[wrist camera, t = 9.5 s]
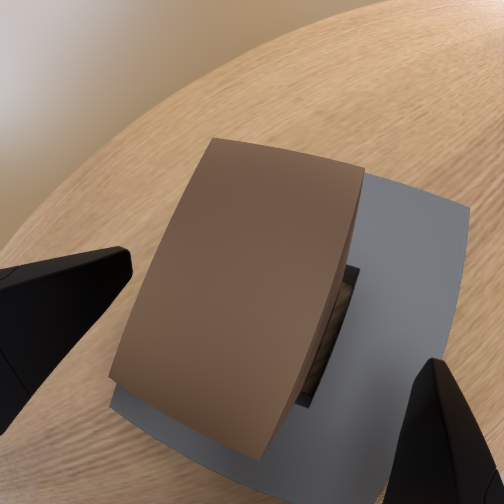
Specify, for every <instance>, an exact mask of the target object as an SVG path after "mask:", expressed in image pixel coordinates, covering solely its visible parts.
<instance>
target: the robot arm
mask: <svg viewBox="0 0 504 504" xmlns="http://www.w3.org/2000/svg"><path fill="white" fill-rule="evenodd" d="M132 275H133V269H132V262H131V254H130V252H129V250H127V249H125V248H123V247H120V246H116V247H110V248H105V249H100V250H94V251H89V252H84V253H79V254H73V255H68V256H63V257H58V258H53V259H48V260H43V261H38V262H34V263H29V264H24V265H20V266H14V267H10V268H5V269H0V436H1V435H2V434H3V433H4V432H5V431H6V430H7V428H8V427H9V426H10V424H11V423H12V422H13V420H14V419H15V418H16V416H17V415H18V414H19V412H20V411H21V410H22V409H23V407H24V406H25V405H26V403H27V402H28V401H29V400H30V398H31V397H32V396H33V394H34V393H35V392H36V391H37V389H38V388H39V387H40V386H41V385H42V383H43V382H44V381H45V380H46V378H47V377H48V376H49V375H50V374H51V372H52V371H53V370H54V369H55V368H56V367H57V365H58V364H59V363H60V362H61V361H62V360H63V358H64V357H65V356H66V355H67V354H68V353H69V351H70V350H71V349H72V348H73V347H74V346H75V345H76V343H77V342H78V341H79V340H80V339H81V338H82V337H83V336H84V334H85V333H86V332H87V331H88V330H89V329H90V328H91V327H92V326H93V325H94V323H95V322H96V321H97V320H98V319H99V318H100V317H101V316H102V315H103V314H104V312H105V311H106V310H107V309H108V307H109V306H110V305H111V304H112V302H113V301H114V300H115V298H116V297H117V296H118V295H119V293H120V292H121V291H122V289H123V288H124V287H125V286H126V284H127V283H128V282H129V281H130V279H131V277H132ZM382 504H504V485H503V483H502V480H501V477H500V474H499V472H498V470H497V469H496V465H495V462H494V460H493V457H492V455H491V452H490V450H489V448H488V445H487V443H486V441H485V439H484V436H483V434H482V432H481V430H480V428H479V426H478V423H477V421H476V419H475V417H474V415H473V413H472V411H471V409H470V407H469V405H468V403H467V401H466V399H465V397H464V395H463V393H462V392H461V390H460V388H459V386H458V384H457V382H456V380H455V379H454V377H453V375H452V373H451V371H450V370H449V368H448V366H447V364H446V363H445V361H443V360H440V359H437V358H433V357H432V358H429V359H428V360H427V362H426V363H425V365H424V366H423V367H422V369H421V370H420V372H419V373H418V375H417V376H416V378H415V379H414V382H413V384H412V388H411V393H410V397H409V401H408V405H407V409H406V412H405V416H404V420H403V423H402V427H401V430H400V434H399V438H398V443H397V447H396V452H395V457H394V461H393V466H392V470H391V474H390V478H389V482H388V486H387V490H386V493H385V497H384V500H383V503H382Z"/></svg>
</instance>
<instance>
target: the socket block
mask: <svg viewBox="0 0 504 504" xmlns="http://www.w3.org/2000/svg"><path fill="white" fill-rule="evenodd" d="M469 215H470V208H469V207H467V206H464V205H462V204H459V203H456V202H454V201H451V200H448V199H446V198H443V197H440V196H437V195H434V194H432V193H429V192H426V191H423V190H420V189H417V188H414V187H411V186H408V185H404V184H401V183H398V182H395V181H391V180H388V179H385V178H381V177H378V176H375V175H371V174H367V173H364V178H363V184H362V190H361V195H360V201H359V206H358V211H357V216H356V221H355V226H354V231H353V236H352V240H351V245H350V250H349V254H348V258H347V263H346V267H345V271H344V275H343V279H342V281H343V282H346V283H349V284H352V285H353V288H352V291H351V295H350V298H349V301H348V304H347V307H346V310H345V312H344V315H343V318H342V321H341V324H340V327H339V329H338V332H337V335H336V338H335V340H334V343H333V346H332V348H331V351H330V354H329V356H328V359H327V361H326V364H325V366H324V369H323V371H322V374H321V376H320V379H319V381H318V383H317V386H316V388H315V390H314V393H313V395H312V396H311V395H308V394H305V393H302V392H300V393H299V395H298V397H297V399H296V401H295V402H294V404H293V406H292V408H291V409H290V411H289V413H288V415H287V416H286V418H285V420H284V422H283V423H282V425H281V427H280V428H279V430H278V432H277V433H276V435H275V437H274V438H273V440H272V441H271V443H270V445H269V446H268V448H267V449H266V451H265V453H264V454H263V456H262V457H261V459H260V460H256V459H254V458H252V457H249V456H247V455H245V454H242V453H240V452H238V451H235V450H233V449H231V448H229V447H227V446H225V445H222V444H220V443H218V442H216V441H214V440H212V439H210V438H208V437H206V436H204V435H202V434H200V433H198V432H196V431H195V430H193V429H191V428H189V427H187V426H185V425H183V424H182V423H180V422H178V421H176V420H175V419H173V418H171V417H169V416H168V415H166V414H164V413H163V412H161V411H159V410H158V409H156V408H154V407H153V406H151V405H149V404H148V403H146V402H145V401H143V400H142V399H140V398H139V397H137V396H135V395H134V394H132V393H131V392H129V391H128V390H127V389H125V388H124V387H122V386H121V385H119V384H118V383H117V385H116V388H115V391H114V394H113V397H112V400H111V403H110V406H109V407H110V408H112V409H113V410H114V411H116V412H117V413H118V414H120V415H121V416H123V417H124V418H125V419H127V420H128V421H130V422H131V423H132V424H134V425H135V426H137V427H138V428H140V429H141V430H143V431H144V432H146V433H147V434H149V435H150V436H152V437H154V438H155V439H157V440H158V441H160V442H162V443H163V444H165V445H166V446H168V447H170V448H172V449H173V450H175V451H177V452H178V453H180V454H182V455H184V456H185V457H187V458H189V459H191V460H193V461H195V462H197V463H198V464H200V465H202V466H204V467H206V468H208V469H210V470H212V471H214V472H216V473H218V474H220V475H222V476H225V477H227V478H229V479H231V480H233V481H236V482H238V483H240V484H242V485H245V486H247V487H250V488H252V489H254V490H257V491H260V492H262V493H265V494H267V495H270V496H273V497H275V498H278V499H281V500H284V501H287V502H290V503H293V504H374V502H375V501H376V499H377V498H378V496H379V494H380V493H381V491H382V490H383V488H384V486H385V485H386V483H387V481H388V480H389V478H390V474H391V470H392V466H393V461H394V457H395V452H396V447H397V443H398V438H399V434H400V430H401V427H402V423H403V420H404V416H405V412H406V409H407V405H408V401H409V397H410V393H411V388H412V384H413V382H414V379H415V378H416V376H417V375H418V373H419V372H420V370H421V369H422V367H423V366H424V365H425V363H426V362H427V360H428V359H429V358H432V357H433V358H437V359H440V360H442V357H443V353H444V350H445V347H446V343H447V340H448V336H449V333H450V329H451V325H452V321H453V317H454V313H455V308H456V304H457V299H458V294H459V289H460V284H461V279H462V273H463V267H464V260H465V253H466V246H467V237H468V227H469Z"/></svg>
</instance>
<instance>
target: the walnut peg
mask: <svg viewBox="0 0 504 504" xmlns="http://www.w3.org/2000/svg"><path fill="white" fill-rule="evenodd" d="M364 172H365V168H363V167H359V166H355V165H351V164H347V163H343V162H339V161H335V160H331V159H327V158H323V157H318V156H314V155H309V154H305V153H300V152H295V151H290V150H285V149H280V148H275V147H269V146H264V145H258V144H252V143H246V142H239V141H233V140H226V139H219V138H212V140H211V142H210V143H209V145H208V147H207V149H206V151H205V153H204V154H203V156H202V158H201V160H200V162H199V164H198V166H197V168H196V170H195V172H194V174H193V175H192V177H191V179H190V181H189V183H188V185H187V187H186V189H185V191H184V193H183V195H182V197H181V199H180V201H179V203H178V206H177V208H176V210H175V212H174V214H173V216H172V218H171V220H170V222H169V224H168V227H167V229H166V231H165V233H164V235H163V238H162V240H161V242H160V244H159V246H158V249H157V251H156V253H155V256H154V258H153V260H152V262H151V265H150V267H149V269H148V272H147V274H146V277H145V279H144V281H143V284H142V286H141V289H140V291H139V294H138V296H137V299H136V301H135V304H134V306H133V309H132V311H131V314H130V317H129V319H128V322H127V325H126V327H125V330H124V333H123V335H122V338H121V341H120V344H119V347H118V349H117V352H116V355H115V358H114V361H113V364H112V367H111V370H110V373H109V376H108V377H109V378H111V379H112V380H114V381H115V382H116V383H118V384H119V385H121V386H122V387H124V388H125V389H127V390H128V391H129V392H131V393H132V394H134V395H135V396H137V397H139V398H140V399H142V400H143V401H145V402H146V403H148V404H149V405H151V406H153V407H154V408H156V409H158V410H159V411H161V412H163V413H164V414H166V415H168V416H169V417H171V418H173V419H175V420H176V421H178V422H180V423H182V424H183V425H185V426H187V427H189V428H191V429H193V430H195V431H196V432H198V433H200V434H202V435H204V436H206V437H208V438H210V439H212V440H214V441H216V442H218V443H220V444H222V445H225V446H227V447H229V448H231V449H233V450H235V451H238V452H240V453H242V454H245V455H247V456H249V457H252V458H254V459H256V460H260V459H261V457H262V456H263V454H264V453H265V451H266V449H267V448H268V446H269V445H270V443H271V441H272V440H273V438H274V437H275V435H276V433H277V432H278V430H279V428H280V427H281V425H282V423H283V422H284V420H285V418H286V416H287V415H288V413H289V411H290V409H291V408H292V406H293V404H294V402H295V401H296V399H297V397H298V395H299V393H300V392H301V390H302V388H303V386H304V384H305V382H306V380H307V378H308V376H309V373H310V371H311V368H312V366H313V363H314V361H315V358H316V356H317V353H318V350H319V348H320V345H321V343H322V340H323V337H324V334H325V332H326V329H327V326H328V323H329V321H330V318H331V315H332V312H333V309H334V306H335V303H336V300H337V298H338V295H339V291H340V287H341V283H342V279H343V275H344V271H345V267H346V263H347V258H348V254H349V250H350V245H351V240H352V236H353V231H354V226H355V221H356V216H357V211H358V206H359V201H360V195H361V190H362V184H363V178H364Z"/></svg>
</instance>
